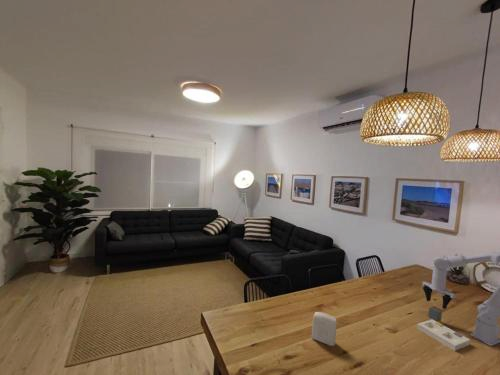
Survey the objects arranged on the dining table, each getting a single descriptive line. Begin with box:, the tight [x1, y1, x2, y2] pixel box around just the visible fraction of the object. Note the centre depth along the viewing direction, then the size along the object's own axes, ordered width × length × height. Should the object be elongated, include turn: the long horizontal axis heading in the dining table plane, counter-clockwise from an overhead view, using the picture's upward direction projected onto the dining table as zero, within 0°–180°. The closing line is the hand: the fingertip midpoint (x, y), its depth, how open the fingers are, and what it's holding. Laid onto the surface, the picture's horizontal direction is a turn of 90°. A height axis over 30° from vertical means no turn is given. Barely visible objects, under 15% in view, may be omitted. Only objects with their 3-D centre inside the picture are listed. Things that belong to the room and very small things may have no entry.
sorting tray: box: [416, 319, 471, 352], centre depth 114 cm, size 12×16×3 cm
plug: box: [427, 306, 443, 324], centre depth 126 cm, size 4×4×7 cm
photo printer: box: [311, 311, 338, 347], centre depth 105 cm, size 10×4×12 cm, turn 61°
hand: (436, 304), depth 125 cm, fingers open, 7 cm apart
